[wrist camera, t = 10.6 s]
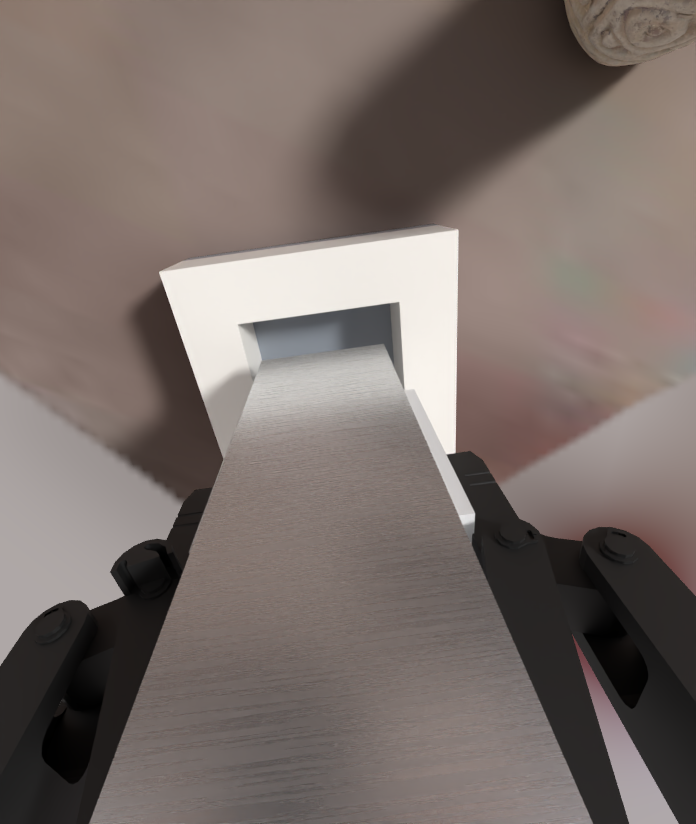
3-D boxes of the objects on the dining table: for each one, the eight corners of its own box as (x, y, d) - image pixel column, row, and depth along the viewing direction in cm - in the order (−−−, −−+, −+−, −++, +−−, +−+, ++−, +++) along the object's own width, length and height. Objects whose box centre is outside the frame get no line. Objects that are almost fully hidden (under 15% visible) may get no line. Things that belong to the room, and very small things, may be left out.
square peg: (261, 360, 16) (55, 917, 4) (383, 343, 16) (601, 846, 4) (286, 460, 18) (213, 998, 6) (392, 445, 18) (540, 956, 6)
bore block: (188, 258, 19) (158, 271, 16) (433, 223, 19) (458, 229, 15) (249, 457, 25) (237, 499, 21) (436, 431, 25) (455, 470, 21)
